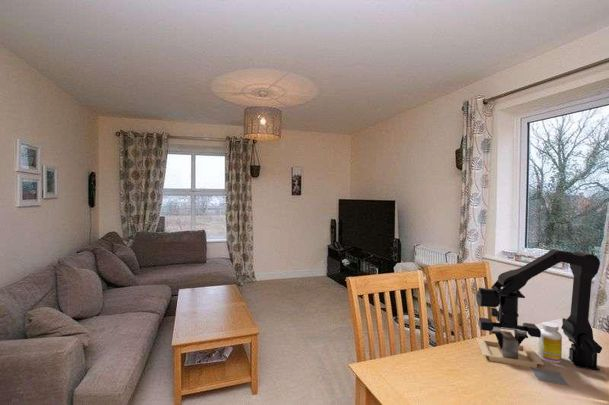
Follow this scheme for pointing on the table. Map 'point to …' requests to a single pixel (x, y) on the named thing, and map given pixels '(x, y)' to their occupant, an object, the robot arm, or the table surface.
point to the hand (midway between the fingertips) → (507, 349)
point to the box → (509, 345)
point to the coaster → (549, 376)
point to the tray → (524, 358)
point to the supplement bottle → (550, 343)
